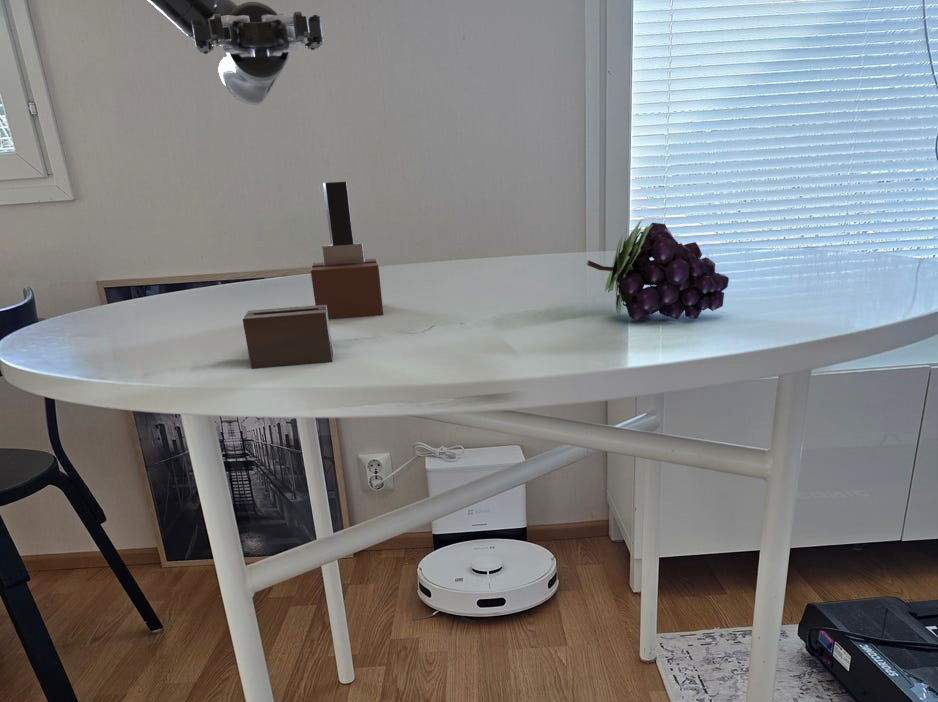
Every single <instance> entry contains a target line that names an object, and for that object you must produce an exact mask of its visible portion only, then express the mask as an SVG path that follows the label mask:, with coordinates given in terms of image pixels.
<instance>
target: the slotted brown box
mask: <svg viewBox="0 0 938 702" xmlns="http://www.w3.org/2000/svg"><path fill="white" fill-rule="evenodd" d="M364 263H365V264H356V265H342V266H329V267H325V266H324V261H323V262H313V263H312V265H311V269H310V276H311V277H310V278H311V284H312V291H313V299H314V305H327V312H328V319H329V321H330V320H342V319H353V318H355V319H356V318H367V317H379V316H385V315H384V313H385V312H384V306H383V305H384V304H383V294H382V284H381V275H380V267H379V264H378V261H377V259H376V258H367V259H365V258H364Z"/></svg>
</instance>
